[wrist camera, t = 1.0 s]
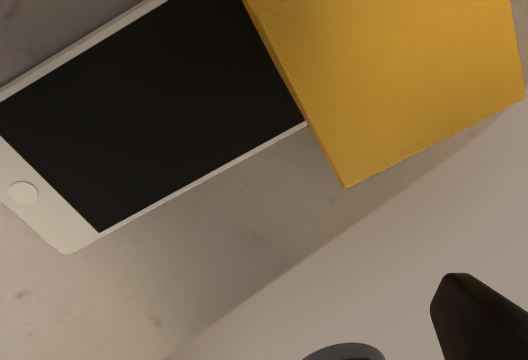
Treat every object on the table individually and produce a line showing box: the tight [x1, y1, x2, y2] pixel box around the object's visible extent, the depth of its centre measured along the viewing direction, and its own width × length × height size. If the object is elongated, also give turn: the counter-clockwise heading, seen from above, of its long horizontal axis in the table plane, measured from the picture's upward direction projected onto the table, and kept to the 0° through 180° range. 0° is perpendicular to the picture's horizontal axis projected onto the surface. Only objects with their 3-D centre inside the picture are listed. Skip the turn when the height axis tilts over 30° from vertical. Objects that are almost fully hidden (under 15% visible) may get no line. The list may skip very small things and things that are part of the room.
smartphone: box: [0, 0, 308, 254], centre depth 18 cm, size 7×15×1 cm, turn 117°
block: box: [242, 0, 526, 189], centre depth 13 cm, size 4×4×9 cm
